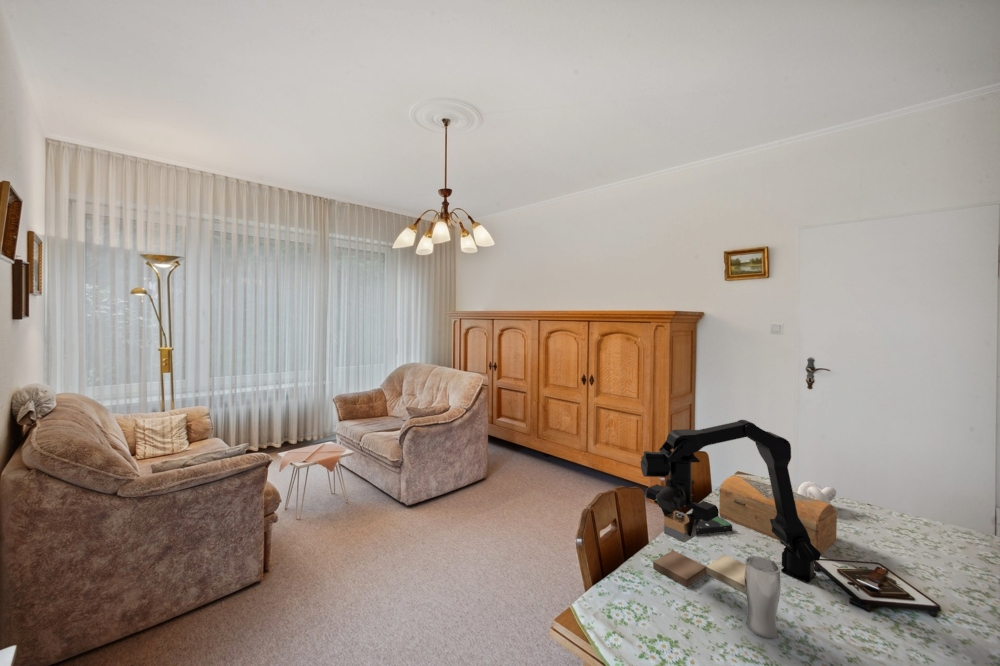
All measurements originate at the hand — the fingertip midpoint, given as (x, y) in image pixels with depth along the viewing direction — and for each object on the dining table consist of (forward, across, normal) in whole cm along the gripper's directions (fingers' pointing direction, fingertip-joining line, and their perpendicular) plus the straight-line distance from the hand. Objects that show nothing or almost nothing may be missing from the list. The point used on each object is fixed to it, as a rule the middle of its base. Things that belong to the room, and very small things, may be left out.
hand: (680, 531), depth 114 cm
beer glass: (+12, +23, -5) cm, 26 cm away
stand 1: (+11, 0, 0) cm, 11 cm away
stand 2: (+11, +10, +10) cm, 18 cm away
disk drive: (+12, -10, +31) cm, 34 cm away
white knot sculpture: (+12, +8, +79) cm, 80 cm away
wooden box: (+12, +5, +49) cm, 51 cm away
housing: (+1, 0, 0) cm, 1 cm away
